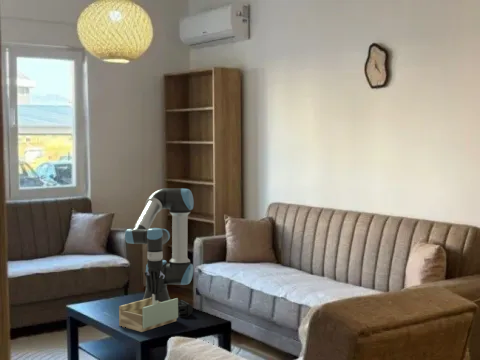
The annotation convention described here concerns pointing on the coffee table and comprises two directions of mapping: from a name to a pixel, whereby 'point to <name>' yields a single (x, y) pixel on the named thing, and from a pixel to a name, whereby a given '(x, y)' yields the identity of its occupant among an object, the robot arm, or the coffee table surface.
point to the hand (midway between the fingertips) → (155, 306)
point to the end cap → (184, 309)
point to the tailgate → (160, 312)
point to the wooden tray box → (136, 315)
